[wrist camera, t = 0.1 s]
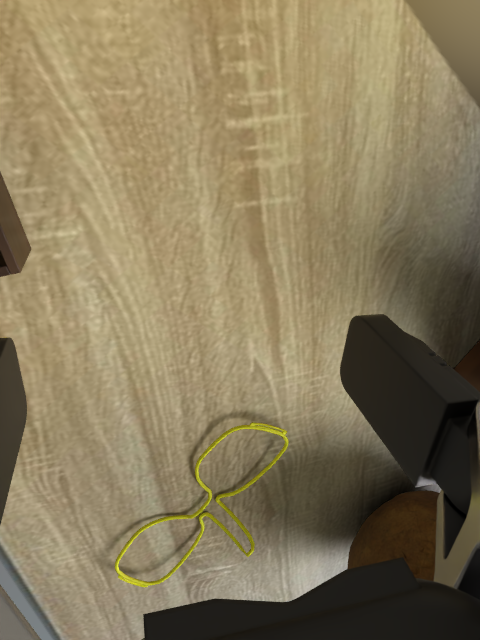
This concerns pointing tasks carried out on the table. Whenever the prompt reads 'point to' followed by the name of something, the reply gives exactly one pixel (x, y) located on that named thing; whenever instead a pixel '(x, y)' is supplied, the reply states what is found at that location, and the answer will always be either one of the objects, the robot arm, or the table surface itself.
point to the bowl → (400, 534)
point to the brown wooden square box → (11, 236)
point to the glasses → (251, 426)
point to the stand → (471, 367)
